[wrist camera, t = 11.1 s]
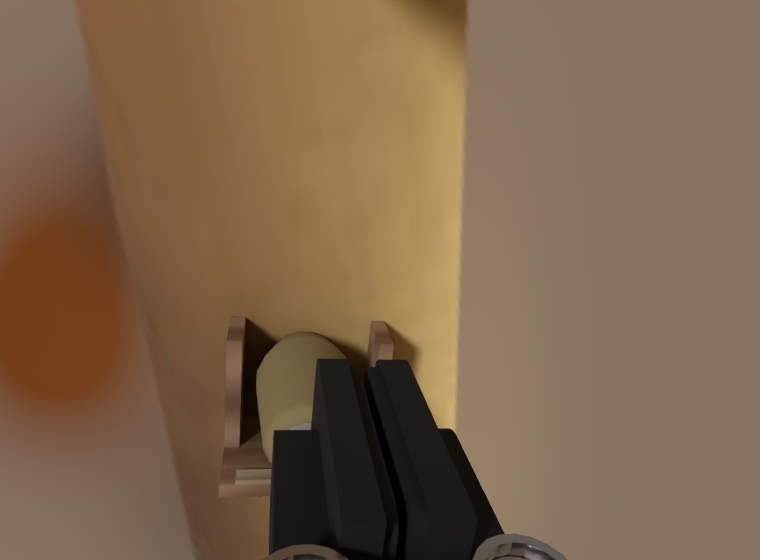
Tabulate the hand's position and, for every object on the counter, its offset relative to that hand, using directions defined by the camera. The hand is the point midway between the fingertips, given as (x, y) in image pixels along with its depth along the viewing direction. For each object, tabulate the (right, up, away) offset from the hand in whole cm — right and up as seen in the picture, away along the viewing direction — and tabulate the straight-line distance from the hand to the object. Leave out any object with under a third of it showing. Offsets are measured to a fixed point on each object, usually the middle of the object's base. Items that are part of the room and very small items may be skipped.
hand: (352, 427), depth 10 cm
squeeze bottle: (-7, -4, +39) cm, 40 cm away
